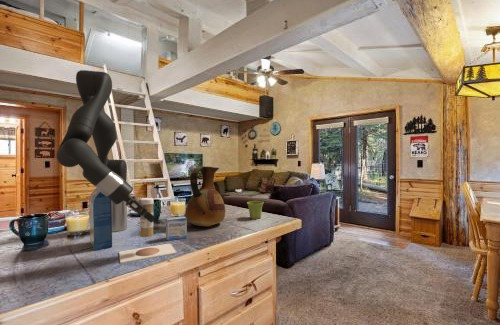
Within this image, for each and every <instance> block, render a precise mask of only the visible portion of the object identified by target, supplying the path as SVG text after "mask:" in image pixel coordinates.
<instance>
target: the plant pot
mask: <svg viewBox="0 0 500 325" xmlns="http://www.w3.org/2000/svg"><path fill="white" fill-rule="evenodd" d="M246 204H247V206H248V212H249V218H250V219H252V220H257V219H261V218H262V213H263V212H262V210H263V209H262V208H263V207H264V206H263V205H264V204H265V203H264V201H259V200H253V201H252V200H251V201H247V202H246Z"/></svg>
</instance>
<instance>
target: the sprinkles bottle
mask: <svg viewBox="0 0 500 325" xmlns="http://www.w3.org/2000/svg"><path fill="white" fill-rule="evenodd" d="M154 200H155V199H154V198H153V197H142V198H140V199H139V201H140V202H141V203H142V204H143V205H144V208H145V209H147V210H148V212H149V213H151V214H152V215H153V216H154V204H155V203H154ZM142 211H143V209H141V212H142ZM139 216H140V215H139ZM139 218H140V220H139V221H140V222H139V223H140V225H139V226H140V227H139V228H140V230H139V231H140V236H139V237H141V238H150V237H153V236H154V234H155V233H154V221H153V222H152V223H151V222H150V221H148V220H147V219H146V218H145V217H143V216H140V217H139Z"/></svg>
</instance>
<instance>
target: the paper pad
mask: <svg viewBox="0 0 500 325" xmlns="http://www.w3.org/2000/svg"><path fill="white" fill-rule="evenodd" d="M118 253H119V254H118V255H119V263H120V264H126V263H132V262H136V261H142V260H147V259H153V258H159V257H163V256H171V255H175V254H177V253H178V252H177V250H176V249H175V248H174V246H173V245H172V243H165V244H164V243H163V244H159V245H152V246H146V247H145V246H144V247H140V248H133V249H127V250H120V251H118Z"/></svg>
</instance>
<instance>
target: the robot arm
mask: <svg viewBox="0 0 500 325" xmlns="http://www.w3.org/2000/svg"><path fill="white" fill-rule="evenodd" d="M75 82H76V87H77V90H78V94H79V96H80V99H81V102H82V104H83V105H82V106H80V107H79V108H77V109H76V110H75V112H73V115H72V116H71V119H70V121H69V123H68V127H67V129H66V133H65V135H64V137H63V139H62V141H61V143H60V145H59V146H58V149H57V151H56V159H57V162H58V163H59V164H60V165H61V166H63V167H65V168H74V167H76V166H78V165H79V167H80V168H81V169H82V176H83V177H84V178H85V179H86V180H87V181H88V182H89V183H90V184H92V185H93V186H94V187H95V189H96V188H97V189H98V190H99V191H100V192H101V193H103V194H104V195H105V196H106V197H108V198H109V199H110V200H111V210H112V233H113V232H121V231H124V230H127V228H128V209H131V210H132V211H133V212H134V213H136V214H137V215H139V216H143V217H145V218H146V219H147V220H148V221H150V222H151V223H152V222H153V223H154V221H155V220H156V216H154V214H153V215H152V214H151V213H149V212H148V210H147V209H145V208H144V205H143V204H142V203H141V202H140V199H138V197H137V196H135V195H132V196H131V195H130V194H131V193H132V192H133V190H134V187H133V186H132V185H131V184H129V183H128V182H127V178H128V177H127V176H128V166H127V162H126V160H125V159H109V157H108V155H109V153H110V151H111V149H112V148H113V146H114V145H115V143H116V142H117V138H118V135H117V130H116V126H115V125H116V124H115V123H114V120H113V119H112V118H111V116H109V115H108V114H107V113H106V111H104V107H105V105H106V104H107V102H108V100H109V98H110V96H111V93H112V90H113V81H112V77H111V75H110V74H109V73H108V72H105V71H95V70H84V69H81V70H80V69H79V70H77V72H76V75H75ZM91 138H92V140H93V143H94V146H95V151H96V152H95V151H94V149H93V148H92V147H91V146H90V145H89V143H88V142H89V140H91ZM141 209H143V211H142V212H141Z"/></svg>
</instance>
